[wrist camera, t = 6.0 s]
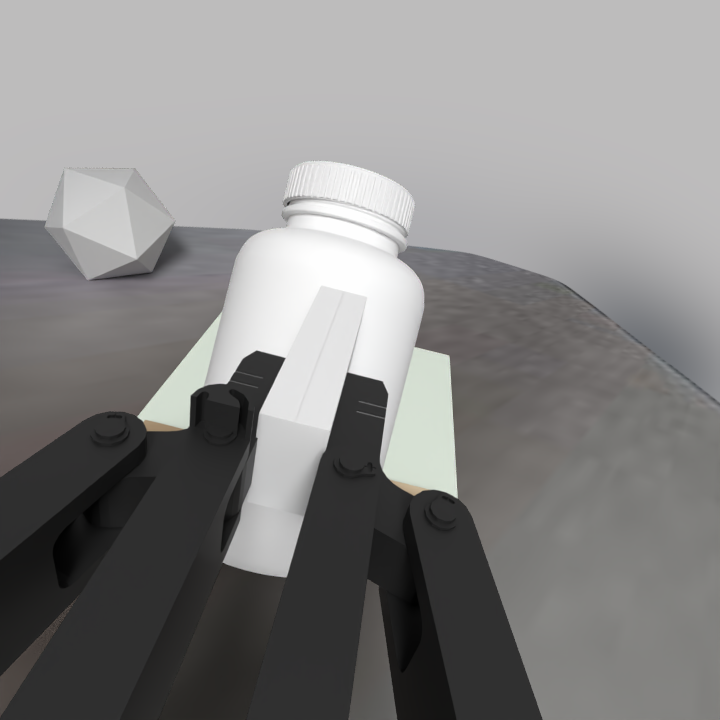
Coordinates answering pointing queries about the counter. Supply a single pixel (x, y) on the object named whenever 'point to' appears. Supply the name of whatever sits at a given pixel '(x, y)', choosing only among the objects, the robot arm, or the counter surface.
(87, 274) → the die
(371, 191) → the pill bottle
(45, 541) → the robot arm
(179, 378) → the mat
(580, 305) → the counter surface
